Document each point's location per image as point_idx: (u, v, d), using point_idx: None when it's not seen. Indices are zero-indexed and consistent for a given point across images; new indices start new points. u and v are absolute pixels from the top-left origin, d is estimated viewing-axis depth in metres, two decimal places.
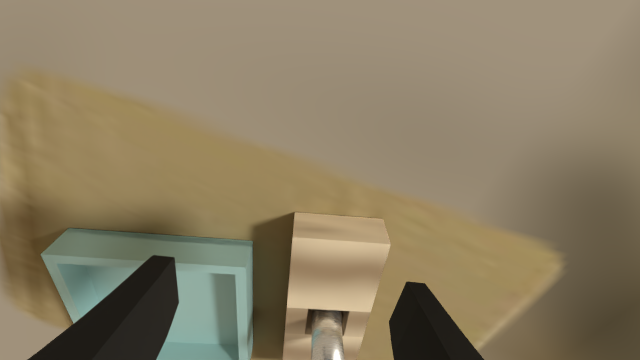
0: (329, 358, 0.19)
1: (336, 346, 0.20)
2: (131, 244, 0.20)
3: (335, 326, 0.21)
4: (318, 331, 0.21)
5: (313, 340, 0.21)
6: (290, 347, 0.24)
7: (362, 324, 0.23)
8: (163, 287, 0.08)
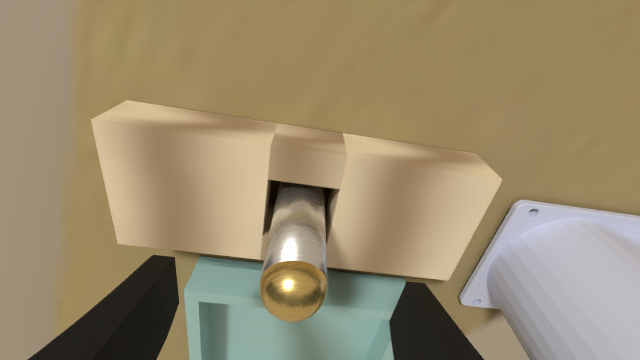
0: None
1: (270, 239, 0.11)
2: None
3: (276, 214, 0.12)
4: None
5: None
6: (360, 262, 0.15)
7: (308, 158, 0.12)
8: (164, 287, 0.08)
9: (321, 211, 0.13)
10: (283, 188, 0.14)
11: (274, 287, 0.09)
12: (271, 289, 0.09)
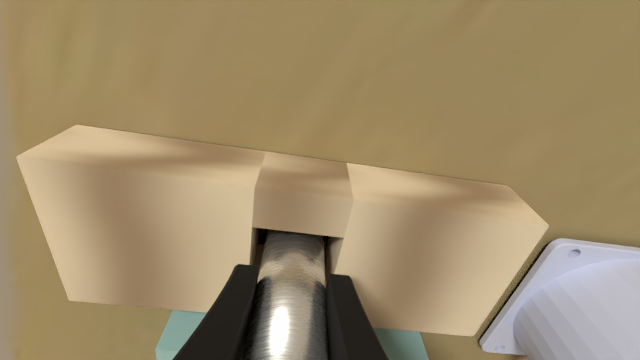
0: (243, 355, 0.08)
1: (253, 313, 0.08)
2: None
3: (263, 272, 0.10)
4: None
5: None
6: None
7: (303, 202, 0.09)
8: (253, 295, 0.09)
9: (320, 266, 0.10)
10: (273, 233, 0.11)
11: None
12: None
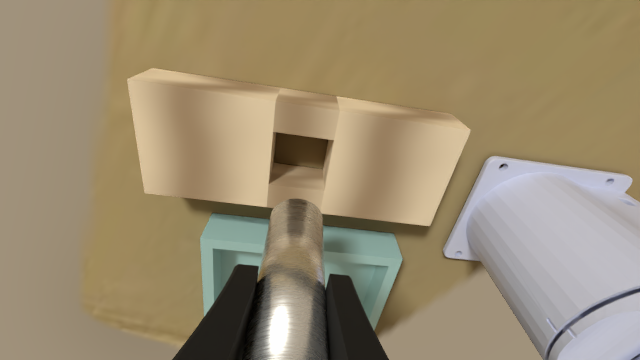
0: (242, 355, 0.08)
1: (252, 313, 0.08)
2: None
3: (262, 271, 0.10)
4: None
5: None
6: (352, 209, 0.17)
7: (306, 112, 0.14)
8: (253, 295, 0.09)
9: (320, 266, 0.10)
10: (273, 233, 0.11)
11: None
12: None
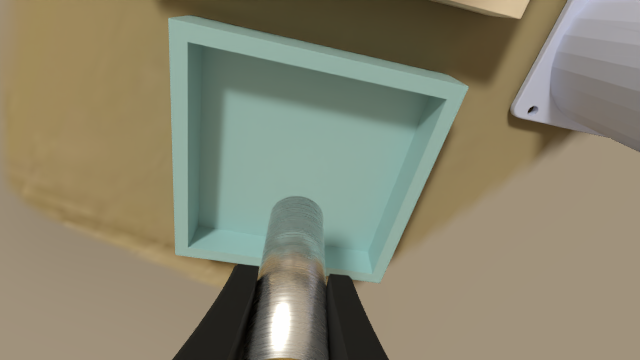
0: (243, 353, 0.08)
1: (253, 311, 0.08)
2: None
3: (262, 269, 0.10)
4: None
5: None
6: None
7: None
8: (253, 295, 0.09)
9: (320, 263, 0.10)
10: (272, 230, 0.11)
11: None
12: None
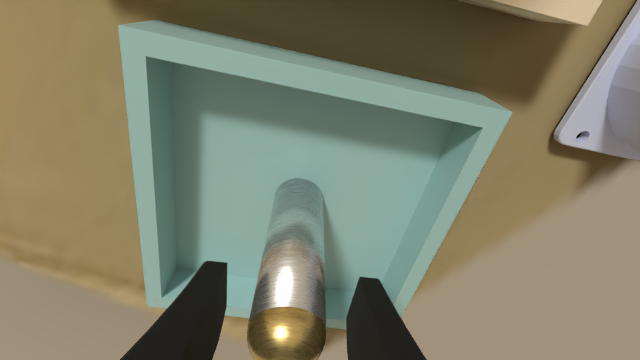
0: (252, 307, 0.09)
1: (260, 273, 0.10)
2: None
3: (268, 240, 0.11)
4: None
5: None
6: None
7: None
8: (220, 292, 0.09)
9: (319, 235, 0.11)
10: (277, 208, 0.12)
11: (262, 340, 0.08)
12: (259, 342, 0.08)
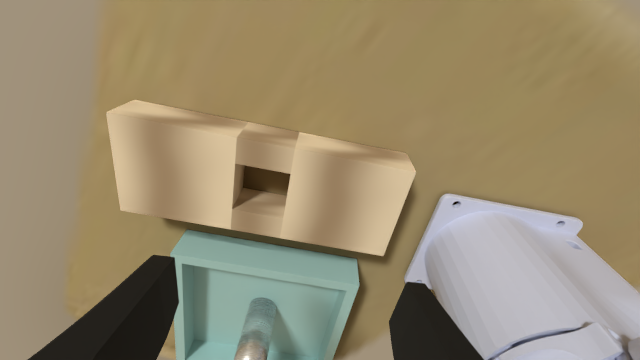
0: None
1: None
2: None
3: (239, 341, 0.21)
4: None
5: None
6: (310, 236, 0.19)
7: (265, 148, 0.16)
8: (164, 287, 0.08)
9: (266, 339, 0.22)
10: (247, 319, 0.23)
11: None
12: None
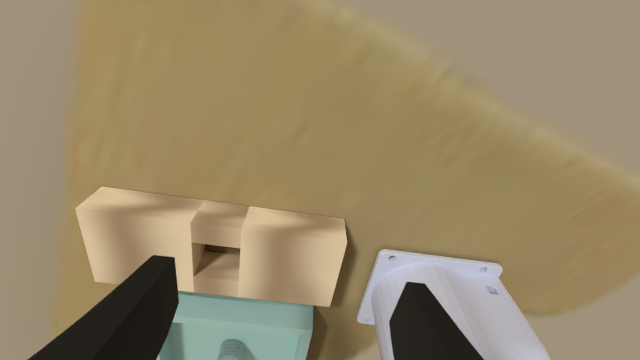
0: None
1: None
2: None
3: None
4: None
5: None
6: (264, 294, 0.21)
7: (215, 230, 0.19)
8: (164, 287, 0.08)
9: None
10: None
11: None
12: None
